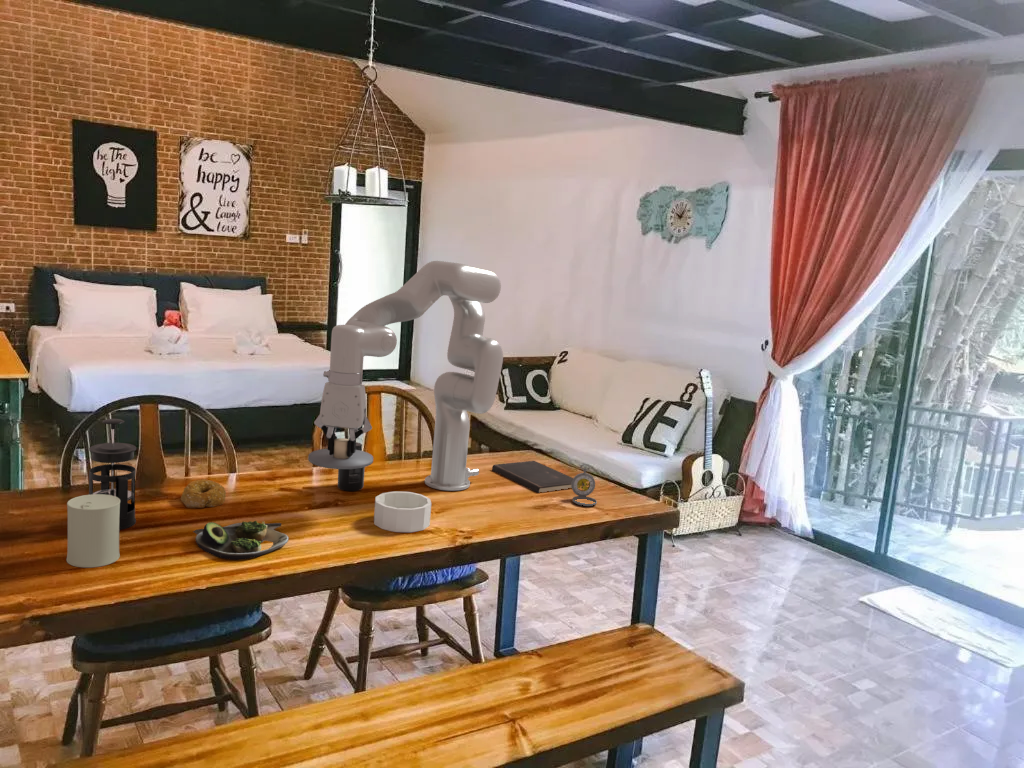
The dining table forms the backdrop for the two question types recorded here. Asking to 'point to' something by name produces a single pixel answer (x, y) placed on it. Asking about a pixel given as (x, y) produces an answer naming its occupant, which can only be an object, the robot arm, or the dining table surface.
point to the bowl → (402, 511)
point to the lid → (340, 457)
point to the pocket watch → (583, 487)
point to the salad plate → (239, 539)
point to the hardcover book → (534, 476)
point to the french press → (115, 455)
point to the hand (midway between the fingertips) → (341, 453)
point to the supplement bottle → (351, 476)
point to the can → (93, 530)
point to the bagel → (203, 494)
